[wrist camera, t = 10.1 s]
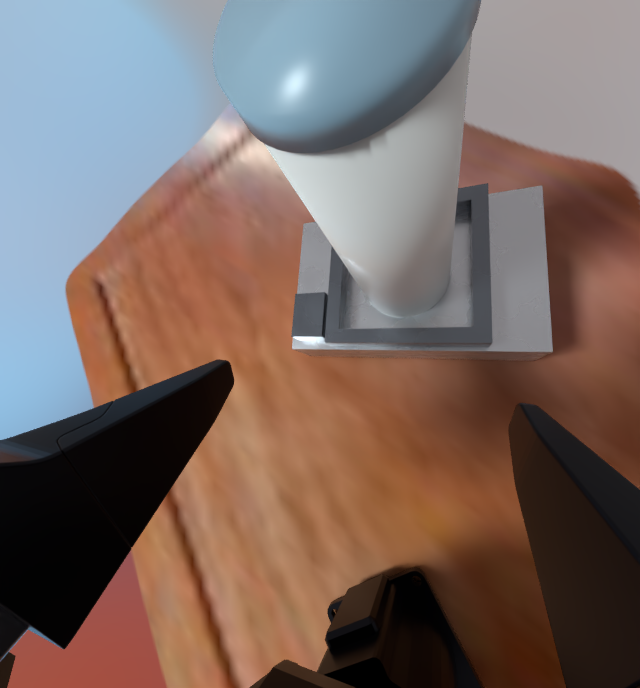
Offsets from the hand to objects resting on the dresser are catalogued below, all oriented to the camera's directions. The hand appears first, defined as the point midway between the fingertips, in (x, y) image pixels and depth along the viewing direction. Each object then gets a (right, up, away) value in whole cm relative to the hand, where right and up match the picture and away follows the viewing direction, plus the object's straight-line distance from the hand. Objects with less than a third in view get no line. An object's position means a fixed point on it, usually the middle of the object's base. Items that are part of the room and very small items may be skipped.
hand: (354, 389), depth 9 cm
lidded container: (+4, +5, +8) cm, 11 cm away
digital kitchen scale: (+5, +5, +11) cm, 13 cm away
